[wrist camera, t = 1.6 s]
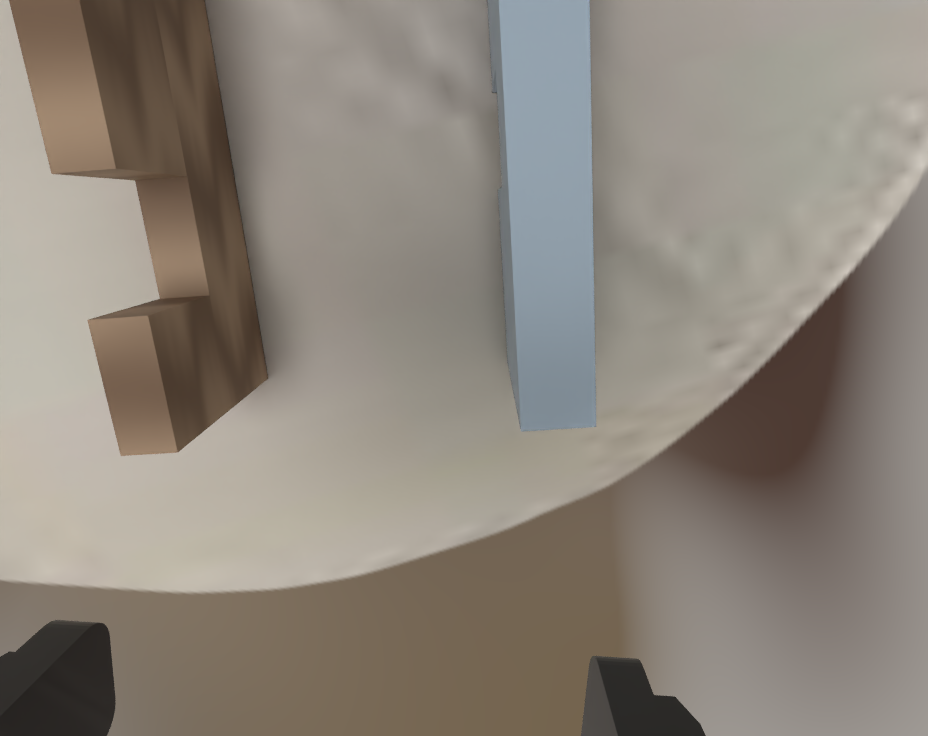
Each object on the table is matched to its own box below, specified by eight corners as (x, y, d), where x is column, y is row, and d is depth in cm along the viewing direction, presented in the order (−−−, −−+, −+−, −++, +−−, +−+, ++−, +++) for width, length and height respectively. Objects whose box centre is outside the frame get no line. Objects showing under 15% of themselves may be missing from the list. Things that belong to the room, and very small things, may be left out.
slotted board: (149, -38, 24) (-34, -175, 16) (197, -42, 24) (39, -183, 15) (227, 381, 29) (121, 455, 20) (268, 378, 29) (177, 452, 20)
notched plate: (480, -128, 23) (481, -330, 14) (543, -135, 23) (584, -342, 14) (507, 362, 28) (520, 431, 20) (559, 359, 28) (596, 426, 20)
